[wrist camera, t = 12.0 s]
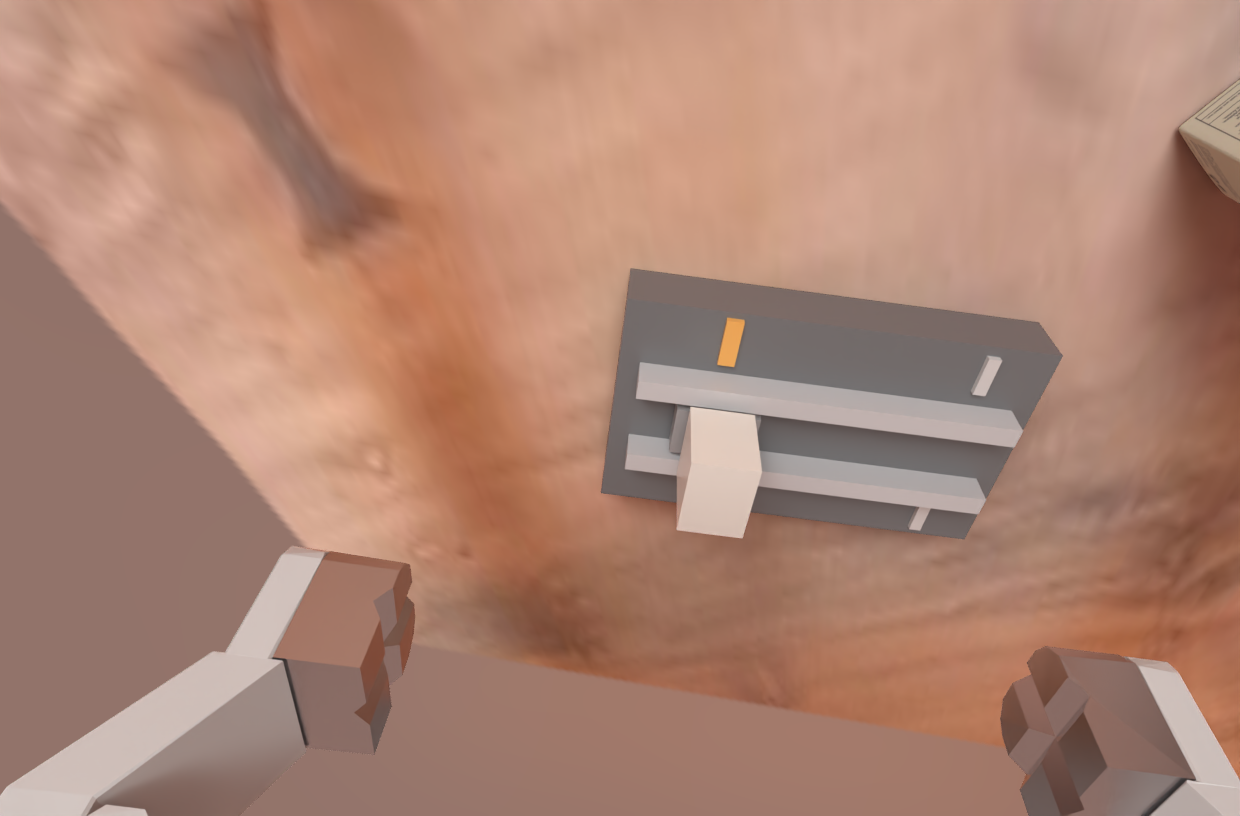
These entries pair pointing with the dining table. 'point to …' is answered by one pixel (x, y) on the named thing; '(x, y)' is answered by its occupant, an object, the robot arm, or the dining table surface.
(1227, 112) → the skincare box
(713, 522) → the fader knob
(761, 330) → the fader console
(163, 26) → the dining table surface
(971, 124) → the dining table surface
